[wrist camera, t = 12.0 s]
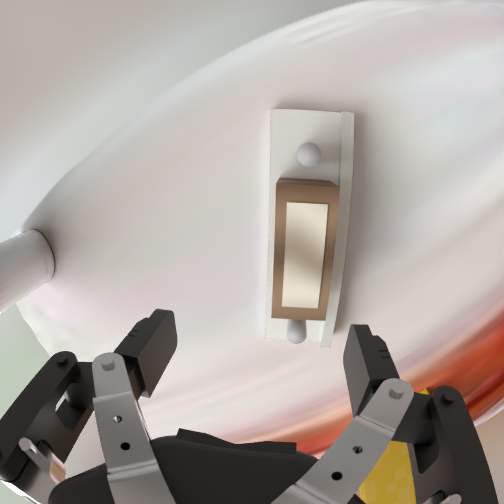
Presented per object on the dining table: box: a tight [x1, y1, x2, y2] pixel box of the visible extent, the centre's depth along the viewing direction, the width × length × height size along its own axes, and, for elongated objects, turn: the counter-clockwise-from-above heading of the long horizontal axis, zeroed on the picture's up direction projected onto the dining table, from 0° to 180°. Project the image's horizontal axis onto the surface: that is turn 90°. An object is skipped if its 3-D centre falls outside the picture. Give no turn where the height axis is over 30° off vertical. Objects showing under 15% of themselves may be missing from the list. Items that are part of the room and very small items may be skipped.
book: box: [359, 388, 431, 504], centre depth 27 cm, size 17×7×25 cm, turn 140°
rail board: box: [265, 109, 354, 347], centre depth 27 cm, size 8×26×6 cm, turn 0°
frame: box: [271, 178, 340, 321], centre depth 26 cm, size 12×5×6 cm, turn 0°
